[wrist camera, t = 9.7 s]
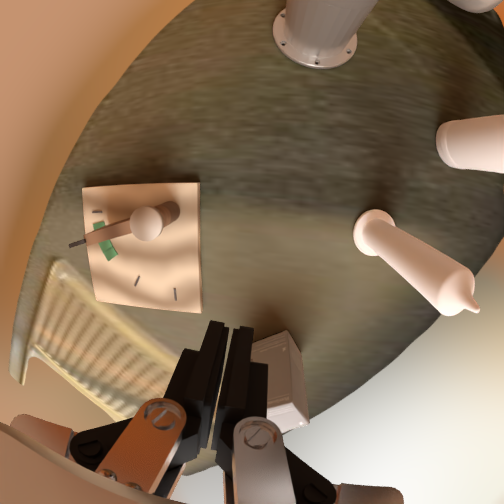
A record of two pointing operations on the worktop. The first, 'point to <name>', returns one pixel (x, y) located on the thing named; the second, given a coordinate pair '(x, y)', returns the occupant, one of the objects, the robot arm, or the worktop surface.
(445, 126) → the bottle
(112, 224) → the peg
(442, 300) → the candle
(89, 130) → the worktop surface
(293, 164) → the worktop surface
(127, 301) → the tuner plate
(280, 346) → the skincare box
